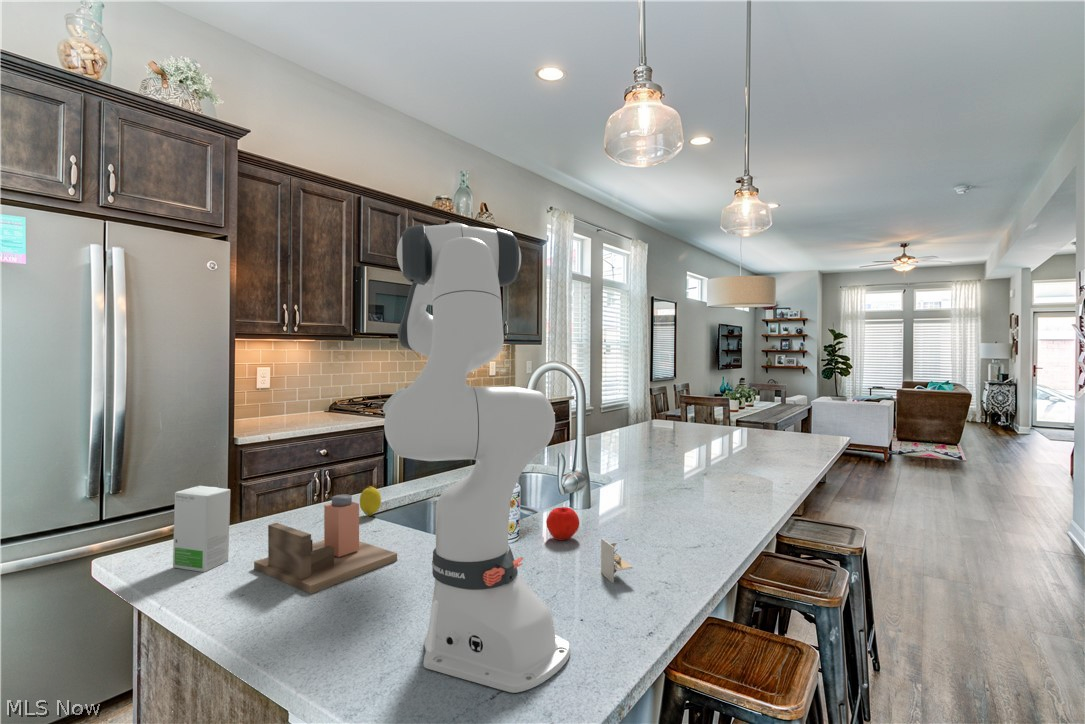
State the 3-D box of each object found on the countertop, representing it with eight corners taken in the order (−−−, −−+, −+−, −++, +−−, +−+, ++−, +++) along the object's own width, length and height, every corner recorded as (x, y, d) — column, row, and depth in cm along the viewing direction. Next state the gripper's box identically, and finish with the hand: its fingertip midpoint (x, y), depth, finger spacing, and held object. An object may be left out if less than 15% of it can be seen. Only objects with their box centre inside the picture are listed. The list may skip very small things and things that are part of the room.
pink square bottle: (359, 550, 118) (359, 496, 118) (338, 557, 114) (338, 501, 114) (344, 545, 121) (344, 492, 121) (324, 551, 117) (324, 497, 117)
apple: (566, 547, 126) (566, 514, 126) (539, 539, 131) (539, 508, 130) (585, 537, 132) (585, 506, 132) (558, 531, 137) (558, 501, 137)
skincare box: (171, 568, 112) (171, 492, 112) (199, 556, 119) (198, 484, 119) (205, 572, 110) (205, 495, 110) (231, 560, 117) (231, 487, 117)
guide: (397, 560, 117) (397, 515, 117) (310, 593, 101) (310, 542, 101) (340, 541, 129) (339, 500, 129) (254, 568, 112) (253, 522, 112)
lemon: (374, 519, 146) (374, 489, 146) (355, 518, 147) (355, 488, 147) (384, 513, 151) (384, 484, 151) (366, 512, 152) (366, 483, 152)
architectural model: (615, 572, 113) (616, 536, 113) (631, 586, 106) (632, 547, 106) (600, 574, 112) (600, 537, 111) (615, 588, 105) (616, 549, 105)
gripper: (396, 378, 142) (364, 420, 134) (454, 381, 130) (422, 427, 123) (409, 394, 146) (379, 436, 138) (466, 398, 134) (437, 444, 126)
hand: (400, 432), depth 130 cm, fingers open, 3 cm apart
